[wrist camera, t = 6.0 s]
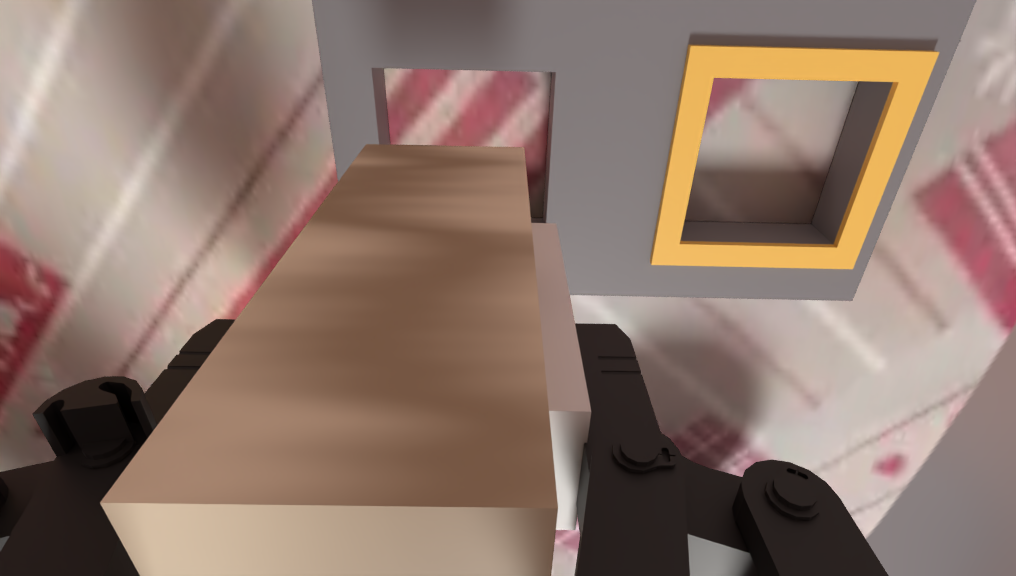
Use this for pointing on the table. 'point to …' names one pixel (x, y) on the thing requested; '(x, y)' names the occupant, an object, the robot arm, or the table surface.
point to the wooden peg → (368, 394)
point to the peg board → (667, 121)
